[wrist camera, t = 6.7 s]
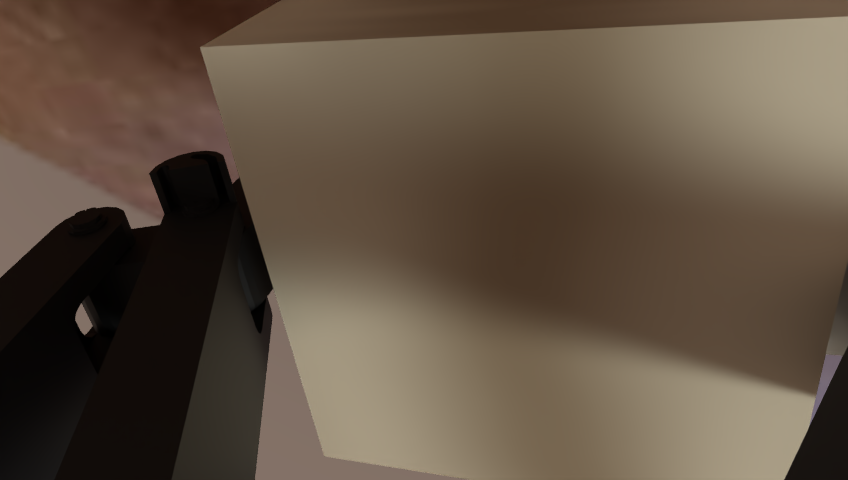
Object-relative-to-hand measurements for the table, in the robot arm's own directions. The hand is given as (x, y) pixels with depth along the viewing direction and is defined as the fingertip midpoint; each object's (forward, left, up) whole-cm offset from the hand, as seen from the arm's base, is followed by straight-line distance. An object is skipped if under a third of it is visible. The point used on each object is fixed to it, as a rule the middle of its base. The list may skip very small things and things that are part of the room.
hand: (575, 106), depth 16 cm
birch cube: (0, 0, 0) cm, 0 cm away
